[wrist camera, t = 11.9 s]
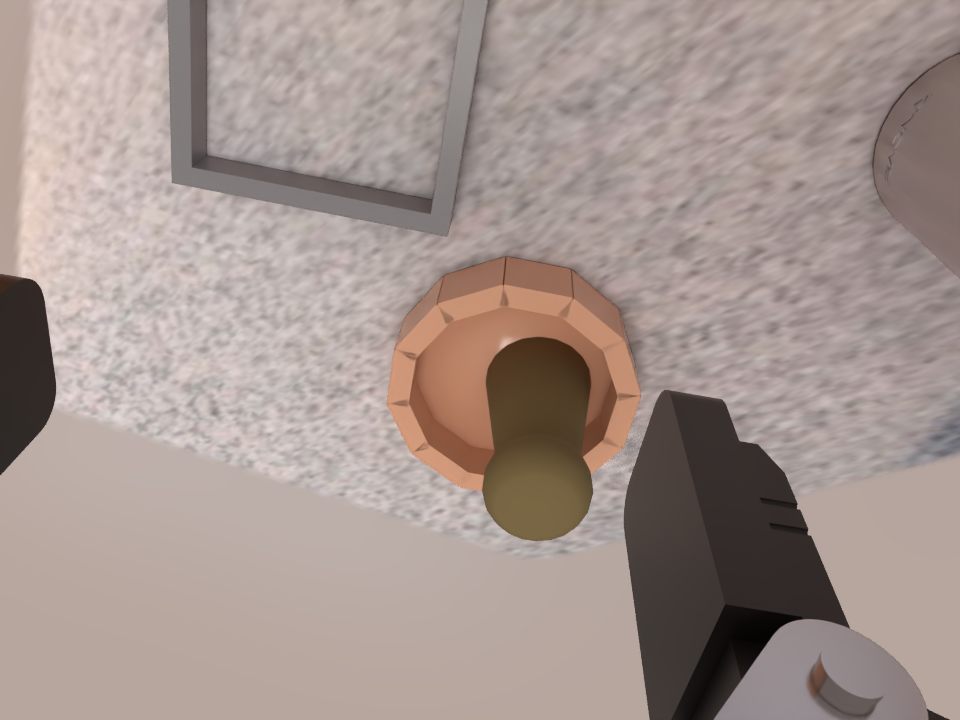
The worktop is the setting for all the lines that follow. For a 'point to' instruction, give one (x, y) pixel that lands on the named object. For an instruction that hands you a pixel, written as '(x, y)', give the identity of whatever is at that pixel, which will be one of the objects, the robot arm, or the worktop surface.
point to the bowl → (480, 336)
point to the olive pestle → (538, 439)
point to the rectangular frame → (304, 189)
